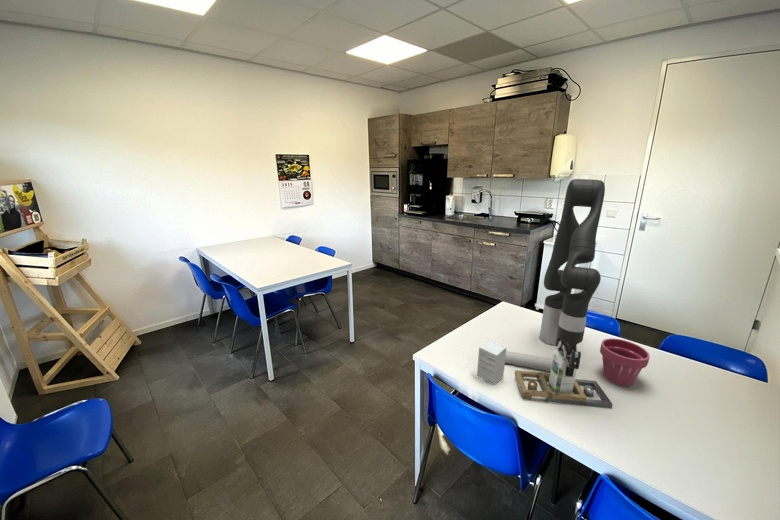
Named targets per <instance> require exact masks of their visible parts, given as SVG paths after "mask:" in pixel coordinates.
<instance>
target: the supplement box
mask: <svg viewBox="0 0 780 520" xmlns="http://www.w3.org/2000/svg"><path fill="white" fill-rule="evenodd" d="M506 351H507V347H506V346H504V345H502V344H499V343H497V342H494V341H493V340H489V339H488V340H487V341H485V343H483V344H482V345H480V346H479V347H478V355H477V357H478V358H477V359H478V360H477V369H476V376H478V377H477V378H479V377H480V378H479V379H481V378H482V380H483V379H484V380H483V381H485V380H486V382H487V381H488V382H487V383H489V382H490V384H491V385H493V386H495V385H496V384H497V383H498V382H499V381H500V380H501V379H502V378H503V377H504V375H505V373H504V372H505V364H506V363H505V356H506Z"/></svg>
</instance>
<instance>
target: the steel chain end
mask: <svg viewBox="0 0 780 520" xmlns="http://www.w3.org/2000/svg"><path fill="white" fill-rule="evenodd" d="M536 380H537V381H536V382H537V384H538V385H539V387H540V389H541V391H544V389H543V387H542V385H541V382H540V380H539V378H536ZM575 380H576V381H577V383H578V384H579V386H580V385H581V386H580V387H582V386H583V390H582V391H583V392H584V394H585V396H586V397H588V398H587V401H586V402H582V401H572V400H562V399H552V398H545V401H546V402H547V403H554V404H566V405H574V406H576V405H577V406H586V407H594V408H604V409H605V408H606V409H612V408H613V403H612V401H611V400H610V399H609V397H608V396H607V394H606V393H605V392H604V390H603V389H602V388H601V386H600V384H599V383H598V382H597V381H596V380H592V379H579V378H575ZM546 381H547V382H549V379H546ZM595 393H596V394H597V396H598V397H599V399H590V398H593V397H594V394H595ZM572 394H577V393H576V392H575V390H574V388H573V390H572Z"/></svg>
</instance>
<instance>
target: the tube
mask: <svg viewBox="0 0 780 520" xmlns="http://www.w3.org/2000/svg"><path fill="white" fill-rule="evenodd" d="M552 361H553V358H548V357H542V356H538V355H532V354H526V353H520V352H515V351H508V350H506V356H505V364H510V365H515V366H521V367H526V368H530V369H535V368H536V370H542V371H546V372H551V366H552Z"/></svg>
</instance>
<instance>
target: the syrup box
mask: <svg viewBox="0 0 780 520" xmlns="http://www.w3.org/2000/svg"><path fill="white" fill-rule="evenodd" d="M567 356H568V357H571V355H567ZM552 359H553V361H552V366H551V371H549V372H550V377H549V382H548V385H549V388H550V390H551V392H559V393H570V394H573V391H572V390H573V386H574V381H575V379H576V377H577V376H576V375H577V370H578V369H574V373H573V376H572V377H569V376H566V375H565V371H566V366H567V363H566V359H565V358H564V352H563V351H557V350H555V351H554V352H553V357H552ZM569 363H570V359H569Z"/></svg>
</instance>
